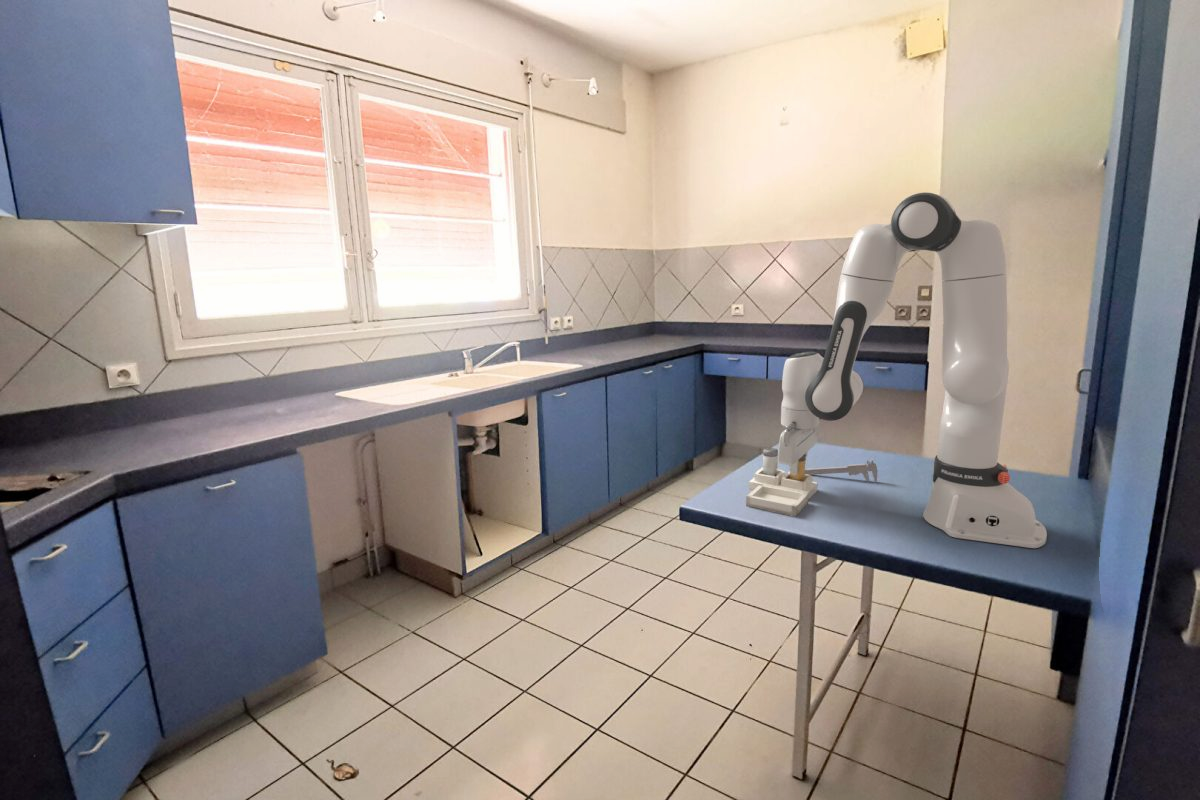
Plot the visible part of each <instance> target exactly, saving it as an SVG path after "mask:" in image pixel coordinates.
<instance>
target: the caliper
mask: <svg viewBox="0 0 1200 800" xmlns="http://www.w3.org/2000/svg"><path fill="white" fill-rule="evenodd" d="M869 472H871V473H872V476H873V482H874V483H877V481H878V466H877V463H874V460H873V459H871V460H870V461H869V459H867V460H866V463H855V464H854V463H853V464H847V466H832V467H815V468H813V467H811V468H805V474H808V475H810V476H813V475H827V474H828V475H829V474H846V473H847V474H848V476H857V475H860V474H862V475H863V477H864V479H865V481H866V483H870V476H869Z"/></svg>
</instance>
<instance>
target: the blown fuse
mask: <svg viewBox="0 0 1200 800" xmlns="http://www.w3.org/2000/svg"><path fill="white" fill-rule="evenodd" d="M806 461H807V458H806V454H804V455H803V456H802V457H801V458H800V459H799V462H798V467H799V473H798V474H797V475H791V474H790V479H791V480H797V481H802V482H804V481H805V469H806Z"/></svg>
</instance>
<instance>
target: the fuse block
mask: <svg viewBox="0 0 1200 800" xmlns="http://www.w3.org/2000/svg"><path fill="white" fill-rule="evenodd" d="M778 450H779V449H777V448H774V447H766V448H763V450H762V467H760V468H759V469H758V470H756V472H754V476H753V478H751V479H750V480H749V482H748V489H749V490H752V489H753V490H754V489H755V488H756V487H758V486H759V485H760V484H761V485H767V486H772V487H777V488H782V489H788V490H793V491H798V492H803V493H808V501H809V500H810V499H811V498H812V497H813V495H815V493H816V492H818V489H819V488H818V485H819V484H818V483H819V482H818V481H817V482H816V481H814V479H813V478H814V476H813V475H808V474H805V481H804V482H802V481H797V480H791V479H790V471H787V472H786V471H785V470H783V469H778V465H779V464H778V463H779V461H778ZM753 490H752V491H753Z"/></svg>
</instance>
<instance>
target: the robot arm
mask: <svg viewBox="0 0 1200 800" xmlns="http://www.w3.org/2000/svg"><path fill="white" fill-rule="evenodd" d="M891 215H892V216H891V219H890V223H889V222H888V223H885V224H881V223H879V224H878V223H874V224H869V225H865V226H863V227H861V228H859V229H858V230H857V231H856V232H855V234H854V236H853V238H852V239H851V242H850V244H849V247H848V249H847V252H846V255H845V258H844V261H843V265H842V268H841V273H840V276H839V280H838V281H839V282H838V286H837V292H836V293H837V294H836V300H835V307H834V315H833V322H832V326H831V327H832V328H831V331H830V334H829V335H830V336H829V339H828V342H827V346H826V348H825V349H826V350H825V353H824V356H822V355H821V354H820V353H818V352H816V351H803V352H799V353H794V354H792V355H790V356H788V358H786V359H785V361H784V365H783V370H782V377H781V378H782V380H781V381H782V382H781V383H782V384H781V390H782V393H783V394H782V395H783V396H782V397H783V398H782V401H781V404H780V405H781V407H780V424H781V426H782V427H785V430H783V431H782V432H781V433H780V437H779V442H778V449H777V450H778V463H779V464H782V465H788V466H789V472H790V474H791V475H797V474H798V473H799V467H798V462H799V459H800V458H801V457H802V456H803V455H804V454H806V459H807V457H808V454H809V453H808V452H809V451H810V450H811V449H812V448H813V447H815V446H816V444H817V442H818V439H819V432H820V425H821V423H820V422H821V420H823V421H829V422H830V421H831V422H832V421H833V422H834V421H838V420H840V419H842V418H844V417H846V416H847V415H848V414H849V412H850V411H851V409H852V408H853V406H854V405H855V404H856V403H857V401H859V400H860V398H861V397H862V394H863V392H864V388H865V387H864V386H865V385H864V381H863V378H862V377H861V375H860V374H859V373H858V372H857V371H856V370H854V365H855V361H856V358H857V355H858V351H859V349H860V345H861V341H862V339H863V337H864V335H865V334H866V332H867V330H868V329H869V328H870V326H871V325H872V324H873V322H874V321H875V320H876V319H877V318H878V316H880V315H881V314H882V312H883V310H884V309H885V306H887V305H886V304H887V302H888V300H889V298H890V296H891V293H892V291H893V287H894V284H895V279H896V276H897V272H898V270H899V269H898V268H899V267H900V266H899V265H900V263H901V260H902V259H903V257H904V256H905V255H906V254H907V253H910V252H917V251H928V252H929V251H930V252H935V253H936V254H937V255H938V256H939V260H940V264H941V265H940V266H941V268H940V269H941V291H942V292H941V293H942V317H943V320H942V321H943V324H942V349H941V350H942V353H941V355H942V356H941V358H942V359H941V360H942V361H941V362H942V363H941V365H942V367H941V369H942V371H941V375H942V376H941V377H942V378H941V379H942V385H943V387H944V389H945V393H944V400H943V406H942V407H943V408H942V412H941V418H940V423H939V424H940V425H939V432H938V433H939V435H938V443H937V445H938V446H937V454H936V456H935V457H934V460H933V466H932V475H931V476H932V482H933V483H932V489H931V492H930V496H929V498H928V502H927V504H926V507H925V509H924V511H923V513H922V517H923V518H924V520H925V521H926V522H927V523H928V524H929V525H932V526H933V527H936V528H938V529H940V530H942V531H943V532H944V533H946V534H947V535H948V536H949V537H951V538H952V537H953V538H956V539H963V540H969V541H978V542H985V543H992V544H999V545H1007V546H1012V547H1013V546H1014V547H1021V548H1028V549H1037V548H1040V547H1043V546H1044V545H1045V544H1046V543H1047V537H1048V535H1047V534H1048V532H1047V529H1046V527H1045V526H1044V524H1043V523H1041V521H1038V520H1037V519H1036V513H1035V509H1034V506H1033V504H1032V502H1031V501H1030V500H1029V499H1028V498H1027V497H1026V496H1025V495H1023V493H1021V492H1020V491H1019V490H1017V489H1016V488H1015V487H1013V485H1011V484H1009V482H1010V477H1011V476H1010V474H1009V469H1008V468H1007V466H1006V464H1003V465H1002V464H1001V463H999V461H998V459H999V451H1000V443H1001V435H1002V426H1003V418H1004V411H1005V403H1006V395H1007V389H1008V387H1007V386H1008V379H1009V370H1010V362H1009V359H1008V299H1007V297H1008V296H1007V295H1008V294H1007V293H1008V291H1007V287H1008V286H1007V264H1006V261H1007V260H1006V255H1005V248H1004V243H1003V239H1002V235H1001V232H1000V229H999V227H998V226H997V225H996V224H994V223H993V222H990V221H988V220H983V219H981V220H980V219H976V220H975V219H973V220H962V219H960V217H959V216H958V215H957V212H956V210H955V208H954V207H953V205H952V203H951V202H950V201H949V200H948V198H945V197H944V196H942V195H939V194H937V193H933V192H918V193H915V194H911V195H910V196H908V197H906V198H905V199H903V200H902V201H901V202H900V203H899V204H898V205H897V206H896V208H895V209H894V211H893V213H892V214H891Z"/></svg>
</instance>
